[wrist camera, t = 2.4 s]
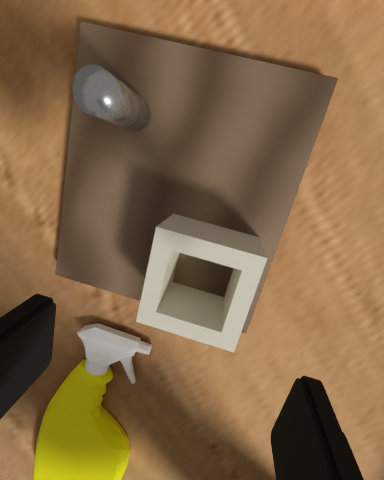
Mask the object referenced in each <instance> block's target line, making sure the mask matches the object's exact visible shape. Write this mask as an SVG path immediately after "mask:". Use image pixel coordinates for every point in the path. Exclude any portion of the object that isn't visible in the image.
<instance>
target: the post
mask: <svg viewBox="0 0 384 480" xmlns="http://www.w3.org/2000/svg"><path fill="white" fill-rule="evenodd" d="M73 96H74V99H75V102H76V103H77V105H78V107H79V108H80V109H81V110H82V111H84V112H85V113H87V114H89V115H92V116H94V117H97V118H100V119H102V120H105V121H108V122H110V123H113V124H116V125H118V126H121V127H123V128H126V129H129V130H132V131H140V130H142V129H144V128H145V127H146V126H147V125H148V123H149V121H150V117H151V111H150V107H149V105H148V103H147V102H146V101H145V100H144V99H143V98H142V97H141V96H139V95H138V94H137V93H135V92H134V91H133V90H132V89H130V88H129V87H128V86H126V85H125V84H124V83H122V82H121V81H120V80H119V79H117V78H116V77H115V76H113V75H112V74H111V73H110V72H108V71H107V70H106V69H104V68H103V67H101V66H99V65H94V64H93V65H87V66H84V67H83V68H81V69H80V70H79V71H78V72H77V74H76V76H75V78H74V81H73Z"/></svg>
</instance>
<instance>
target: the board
mask: <svg viewBox="0 0 384 480" xmlns="http://www.w3.org/2000/svg"><path fill="white" fill-rule="evenodd" d="M93 64H94V65H99V66H101V67H103V68H104V69H106V70H107V71H108V72H110V73H111V74H112V75H113V76H115V77H116V78H117V79H119V80H120V81H121V82H122V83H124V84H125V85H126V86H128V87H129V88H130V89H132V90H133V91H134V92H135V93H137V94H138V95H139V96H141V97H142V98H143V99H144V100H145V101H146V102H147V103H148V105H149V107H150V111H151V117H150V121H149V123H148V125H147V126H146V127H145V128H144V129H142V130H140V131H132V130H129V129H126V128H123V127H121V126H118V125H116V124H113V123H110V122H108V121H105V120H102V119H100V118H97V117H94V116H92V115H89V114H87V113H85V112H84V111H82V110H81V109H80V108H79V107H78V105H77V103H76V102H75V99H74V96H73V103H72V113H71V123H70V133H69V143H68V153H67V163H66V173H65V183H64V193H63V204H62V214H61V224H60V234H59V244H58V254H57V264H56V274H55V275H58V276H62V277H65V278H68V279H71V280H75V281H78V282H81V283H84V284H88V285H91V286H94V287H97V288H101V289H104V290H107V291H110V292H114V293H117V294H120V295H123V296H127V297H130V298H133V299H136V300H141V296H142V291H143V286H144V282H145V277H146V272H147V267H148V263H149V258H150V253H151V248H152V244H153V239H154V234H155V229H156V226H158V225H159V224H160V223H162V222H163V221H165V220H166V219H167V218H169V217H170V216H171V215H173V214H177V215H181V216H184V217H188V218H191V219H195V220H199V221H202V222H206V223H210V224H213V225H217V226H220V227H224V228H228V229H231V230H235V231H238V232H242V233H246V234H249V235H253V236H256V237H260V240H261V242H262V245H263V248H264V250H265V253H266V256H267V261H266V264H265V267H264V269H263V272H262V275H261V278H260V281H259V283H258V286H257V289H256V292H255V295H254V298H253V300H252V303H251V306H250V309H249V312H248V314H247V317H246V320H245V323H244V326H243V329H242V331H241V332H243V333H246V332H247V329H248V326H249V323H250V320H251V318H252V315H253V312H254V309H255V307H256V304H257V301H258V298H259V296H260V293H261V290H262V287H263V285H264V282H265V279H266V276H267V273H268V271H269V268H270V265H271V262H272V260H273V257H274V254H275V251H276V249H277V246H278V243H279V240H280V238H281V235H282V232H283V229H284V226H285V224H286V221H287V218H288V215H289V213H290V210H291V207H292V204H293V202H294V199H295V196H296V193H297V190H298V188H299V185H300V182H301V179H302V177H303V174H304V171H305V168H306V166H307V163H308V160H309V157H310V155H311V152H312V149H313V146H314V143H315V141H316V138H317V135H318V132H319V130H320V127H321V124H322V121H323V119H324V116H325V113H326V110H327V107H328V105H329V102H330V99H331V96H332V94H333V91H334V88H335V85H336V83H337V80H338V78H335V77H330V76H326V75H321V74H317V73H312V72H308V71H303V70H299V69H294V68H290V67H285V66H281V65H276V64H272V63H267V62H263V61H258V60H254V59H249V58H245V57H240V56H236V55H231V54H227V53H222V52H218V51H213V50H208V49H204V48H199V47H195V46H190V45H186V44H181V43H177V42H172V41H168V40H163V39H159V38H154V37H150V36H145V35H141V34H136V33H132V32H127V31H123V30H118V29H114V28H109V27H105V26H100V25H96V24H91V23H86V22H82V21H81V22H80V32H79V42H78V52H77V62H76V72H75V76H76V74H77V72H78V71H79V70H80V69H81V68H83V67H84V66H87V65H93ZM232 271H233V268H231V267H228V266H224V265H221V264H218V263H214V262H211V261H207V260H204V259H200V258H197V257H193V256H190V255H186V254H183V253H179V257H178V261H177V265H176V269H175V273H174V277H173V281H172V282H175V283H178V284H181V285H185V286H188V287H191V288H195V289H198V290H201V291H205V292H208V293H211V294H215V295H218V296H221V297H225V293H226V290H227V287H228V284H229V281H230V278H231V274H232Z"/></svg>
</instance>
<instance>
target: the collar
mask: <svg viewBox="0 0 384 480" xmlns="http://www.w3.org/2000/svg"><path fill="white" fill-rule="evenodd" d="M179 253H183V254H186V255H190V256H193V257H197V258H200V259H204V260H207V261H211V262H214V263H218V264H221V265H224V266H228V267H231V268H233V271H232V274H231V278H230V281H229V284H228V287H227V290H226V293H225V297H221V296H218V295H215V294H211V293H208V292H205V291H201V290H198V289H195V288H191V287H188V286H185V285H181V284H178V283H175V282H172V281H173V277H174V273H175V269H176V265H177V261H178V257H179ZM266 261H267V256H266V253H265V250H264V248H263V245H262V242H261V240H260V237H256V236H253V235H249V234H246V233H242V232H238V231H235V230H231V229H228V228H224V227H220V226H217V225H213V224H210V223H206V222H202V221H199V220H195V219H191V218H188V217H184V216H181V215H177V214H173V215H171V216H170V217H169V218H167V219H166V220H165V221H163V222H162V223H160V224H159V225H158V226H156V229H155V234H154V239H153V244H152V248H151V253H150V258H149V263H148V267H147V272H146V277H145V282H144V286H143V291H142V296H141V300H140V305H139V310H138V315H137V319H136V322H139V323H142V324H145V325H148V326H151V327H154V328H158V329H161V330H164V331H167V332H170V333H174V334H177V335H180V336H183V337H186V338H189V339H193V340H196V341H199V342H202V343H205V344H208V345H212V346H215V347H218V348H221V349H224V350H227V351H231V352H234V351H235V348H236V345H237V343H238V340H239V337H240V334H241V331H242V329H243V326H244V323H245V320H246V317H247V314H248V312H249V309H250V306H251V303H252V300H253V298H254V295H255V292H256V289H257V286H258V283H259V281H260V278H261V275H262V272H263V269H264V267H265V264H266Z"/></svg>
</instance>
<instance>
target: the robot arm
mask: <svg viewBox="0 0 384 480" xmlns="http://www.w3.org/2000/svg"><path fill="white" fill-rule="evenodd" d="M55 314H56V304H55V303H53V299H52V298H49V297H46V296H43V295H40V294H36V295H34V296H32V297H31V298H29V299H28V300H26V301H25V302H23V303H22V304H20V305H19V306H17V307H16V308H14V309H13V310H11V311H10V312H8V313H7V314H5V315H4V316H2V317H1V318H0V419H1V418H2V417H3V416H4V415H5V414H6V412H7V411H8V410H9V409H10V408H11V407H12V406H13V405H14V404H15V402H16V401H17V400H18V399H19V398H20V397H21V396H22V395H23V394H24V392H25V391H26V390H27V389H28V388H29V387H30V386H31V385H32V384H33V383H34V381H35V380H36V379H37V378H38V377H39V376H40V375H41V374H42V373H43V371H44V370H45V369H46V368H47V367H48V365H49V363H50V361H51V358H52V347H53V336H54V325H55ZM271 446H272V453H273V460H274V467H275V475H276V480H364V479H363V477H362V474H361V472H360V470H359V467H358V465H357V462H356V460H355V458H354V455H353V453H352V450H351V448H350V445H349V443H348V441H347V438H346V436H345V435H344V433H343V432H342V430H341V428H340V425H339V423H338V420H337V418H336V416H335V413H334V411H333V408H332V406H331V403H330V401H329V398H328V396H327V393H326V391H325V389H324V386H323V384H322V382H321V381H320V380H317V379H313V378H310V377H307V376H302V377H301V379H299V378H297V379H296V380H295V382H294V384H293V386H292V389H291V391H290V393H289V395H288V397H287V399H286V401H285V403H284V405H283V408H282V410H281V412H280V414H279V416H278V418H277V420H276V422H275V424H274V427H273V429H272V432H271Z"/></svg>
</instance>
